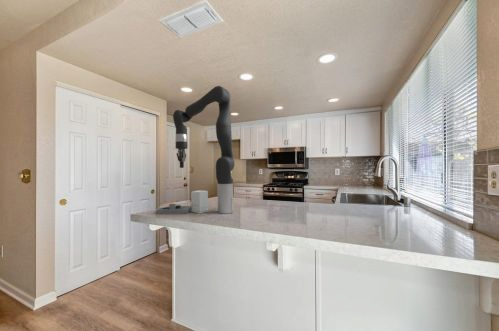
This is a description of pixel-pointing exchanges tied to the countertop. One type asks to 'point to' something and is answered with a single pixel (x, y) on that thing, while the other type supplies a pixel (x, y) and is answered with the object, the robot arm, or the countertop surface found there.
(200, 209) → the supplement box
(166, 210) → the breaker panel
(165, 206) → the breaker rocker
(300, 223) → the countertop surface
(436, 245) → the countertop surface
